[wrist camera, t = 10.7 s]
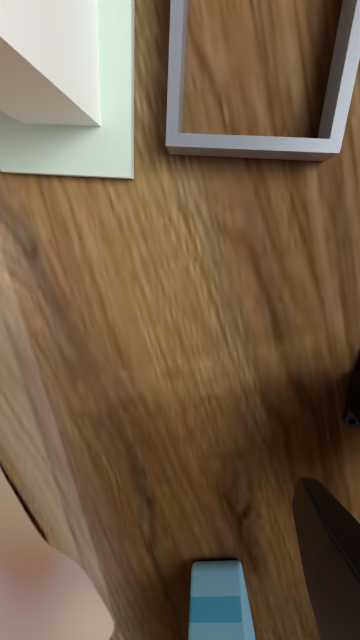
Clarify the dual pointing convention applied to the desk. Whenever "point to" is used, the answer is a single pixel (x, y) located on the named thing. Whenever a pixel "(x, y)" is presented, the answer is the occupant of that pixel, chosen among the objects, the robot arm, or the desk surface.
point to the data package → (219, 602)
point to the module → (50, 62)
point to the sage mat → (85, 141)
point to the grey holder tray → (351, 44)
